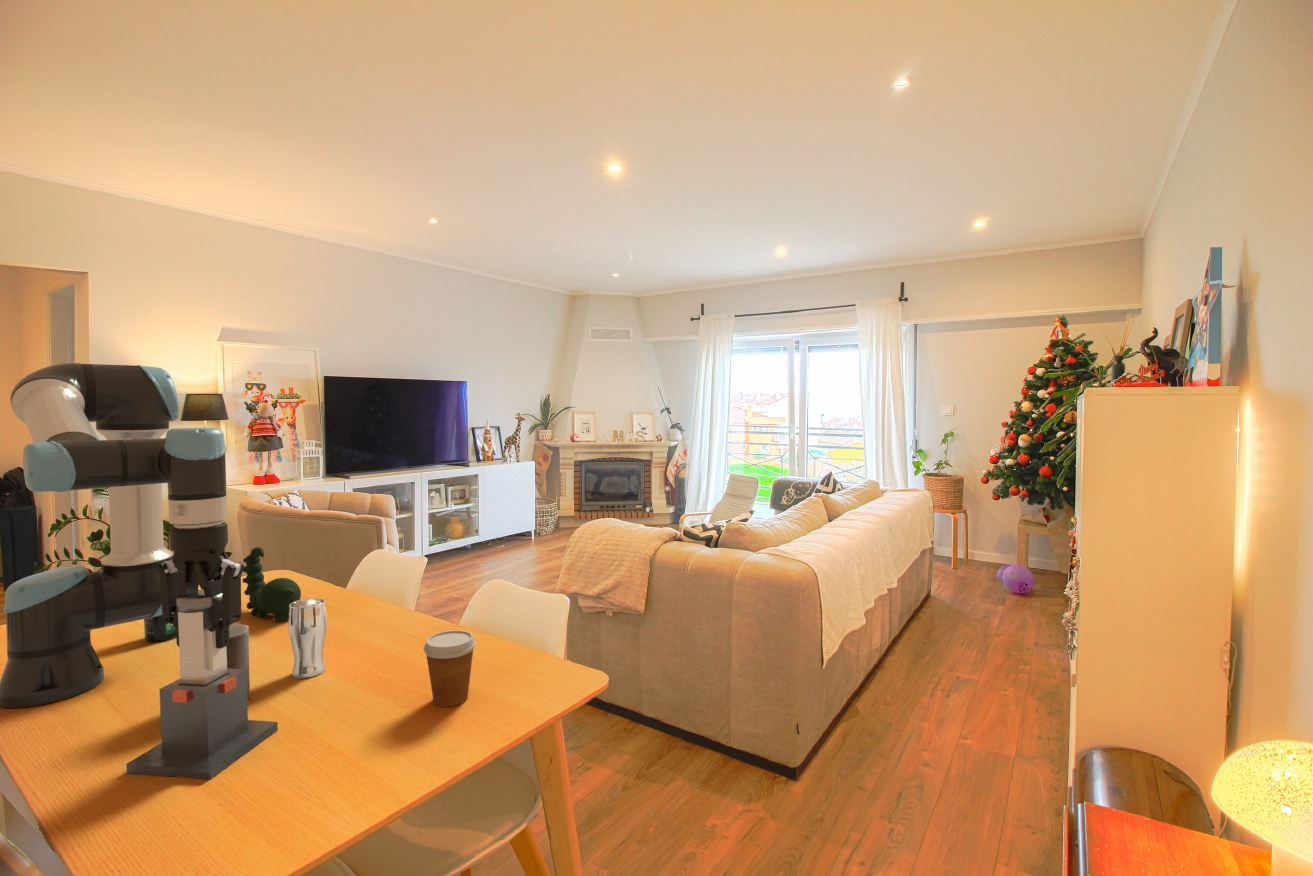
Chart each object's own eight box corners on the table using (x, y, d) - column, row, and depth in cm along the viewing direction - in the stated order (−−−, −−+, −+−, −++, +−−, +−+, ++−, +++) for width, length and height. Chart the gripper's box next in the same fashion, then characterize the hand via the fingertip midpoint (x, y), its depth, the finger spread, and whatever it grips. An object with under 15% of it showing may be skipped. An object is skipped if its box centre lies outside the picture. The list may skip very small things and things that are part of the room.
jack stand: (126, 773, 93) (123, 697, 92) (203, 725, 107) (201, 659, 106) (210, 779, 91) (207, 702, 91) (277, 730, 105) (275, 662, 105)
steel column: (171, 748, 96) (165, 599, 95) (205, 727, 102) (200, 587, 101) (208, 750, 95) (202, 601, 94) (240, 729, 102) (235, 588, 101)
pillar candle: (201, 721, 108) (199, 638, 108) (177, 706, 113) (176, 627, 113) (260, 699, 117) (259, 622, 116) (235, 686, 122) (234, 613, 121)
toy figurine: (234, 618, 165) (275, 630, 151) (229, 549, 165) (270, 554, 151) (272, 609, 173) (314, 619, 158) (267, 543, 173) (309, 547, 158)
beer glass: (310, 681, 124) (308, 609, 123) (281, 678, 125) (279, 607, 125) (335, 667, 131) (333, 598, 130) (307, 664, 132) (305, 596, 131)
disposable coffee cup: (427, 716, 110) (426, 651, 110) (421, 694, 119) (420, 634, 118) (481, 704, 115) (480, 642, 114) (471, 684, 123) (470, 626, 122)
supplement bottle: (179, 639, 146) (177, 590, 145) (142, 645, 142) (140, 595, 142) (182, 630, 152) (180, 583, 151) (146, 636, 148) (144, 587, 147)
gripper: (127, 527, 94) (133, 673, 95) (229, 529, 92) (234, 679, 94) (170, 518, 102) (175, 654, 103) (266, 520, 100) (270, 659, 101)
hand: (203, 665), depth 98 cm, fingers closed on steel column, 4 cm apart
